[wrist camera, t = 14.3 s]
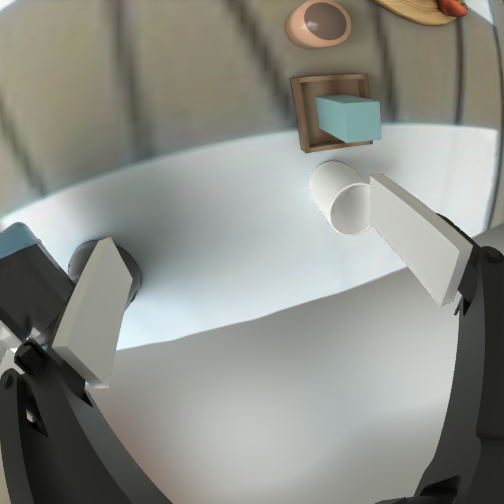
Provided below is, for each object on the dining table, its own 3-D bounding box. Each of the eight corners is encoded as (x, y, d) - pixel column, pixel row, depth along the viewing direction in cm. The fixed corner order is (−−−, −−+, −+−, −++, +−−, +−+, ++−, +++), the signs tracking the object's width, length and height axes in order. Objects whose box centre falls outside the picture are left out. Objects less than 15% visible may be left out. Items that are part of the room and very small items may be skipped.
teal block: (314, 96, 36) (343, 103, 27) (345, 94, 36) (379, 101, 27) (319, 128, 39) (347, 144, 30) (348, 124, 38) (381, 140, 30)
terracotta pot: (289, 51, 32) (304, 46, 26) (280, 9, 27) (293, -3, 22) (334, 48, 31) (355, 45, 26) (326, 8, 27) (346, -1, 22)
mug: (370, 156, 42) (404, 178, 34) (368, 198, 47) (398, 227, 39) (305, 162, 42) (329, 186, 34) (307, 208, 47) (328, 240, 39)
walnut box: (300, 149, 41) (305, 153, 39) (289, 78, 34) (294, 78, 32) (365, 140, 41) (372, 143, 39) (359, 73, 34) (367, 74, 32)
